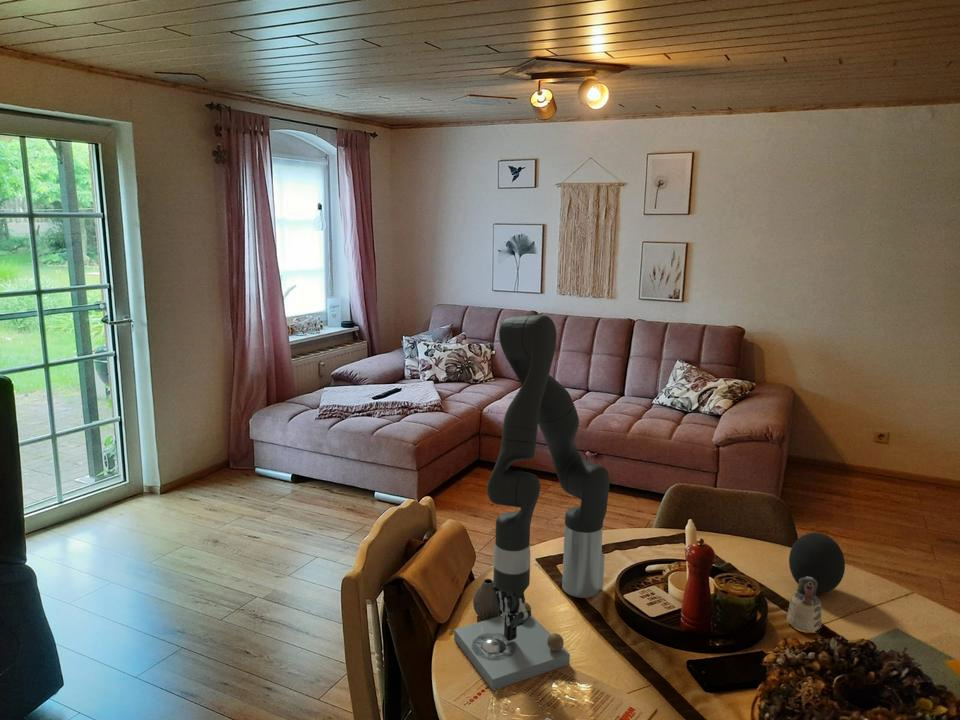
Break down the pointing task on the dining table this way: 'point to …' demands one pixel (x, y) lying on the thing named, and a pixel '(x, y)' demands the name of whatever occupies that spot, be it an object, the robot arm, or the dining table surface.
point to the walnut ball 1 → (527, 606)
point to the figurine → (805, 606)
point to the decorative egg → (817, 561)
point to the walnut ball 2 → (555, 642)
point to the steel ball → (491, 646)
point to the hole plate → (510, 651)
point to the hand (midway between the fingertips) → (510, 637)
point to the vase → (485, 601)
